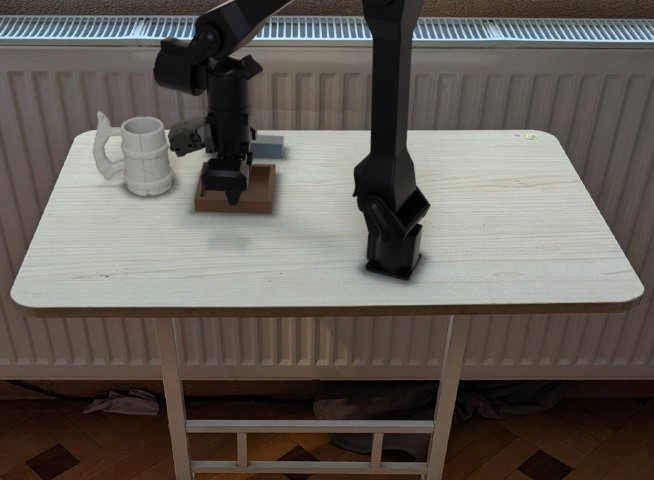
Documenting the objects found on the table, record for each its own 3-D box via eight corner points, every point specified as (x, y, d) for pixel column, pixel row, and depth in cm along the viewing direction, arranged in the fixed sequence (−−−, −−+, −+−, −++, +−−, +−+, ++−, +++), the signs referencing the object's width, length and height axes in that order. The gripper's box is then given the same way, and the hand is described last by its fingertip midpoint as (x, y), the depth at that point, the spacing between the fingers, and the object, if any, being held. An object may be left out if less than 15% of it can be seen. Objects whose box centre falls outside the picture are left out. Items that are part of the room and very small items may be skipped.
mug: (174, 196, 129) (165, 122, 120) (96, 198, 128) (82, 124, 119) (175, 172, 134) (167, 100, 126) (100, 174, 133) (88, 101, 125)
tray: (271, 214, 126) (271, 201, 124) (195, 211, 126) (193, 199, 124) (275, 176, 134) (275, 164, 133) (204, 173, 134) (203, 161, 133)
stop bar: (282, 158, 139) (282, 144, 137) (210, 155, 139) (209, 141, 137) (283, 149, 141) (283, 135, 139) (213, 146, 141) (212, 132, 139)
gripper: (179, 73, 121) (188, 172, 131) (158, 130, 107) (169, 235, 118) (256, 76, 121) (258, 175, 131) (244, 134, 107) (248, 239, 118)
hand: (233, 204), depth 124 cm, fingers closed
